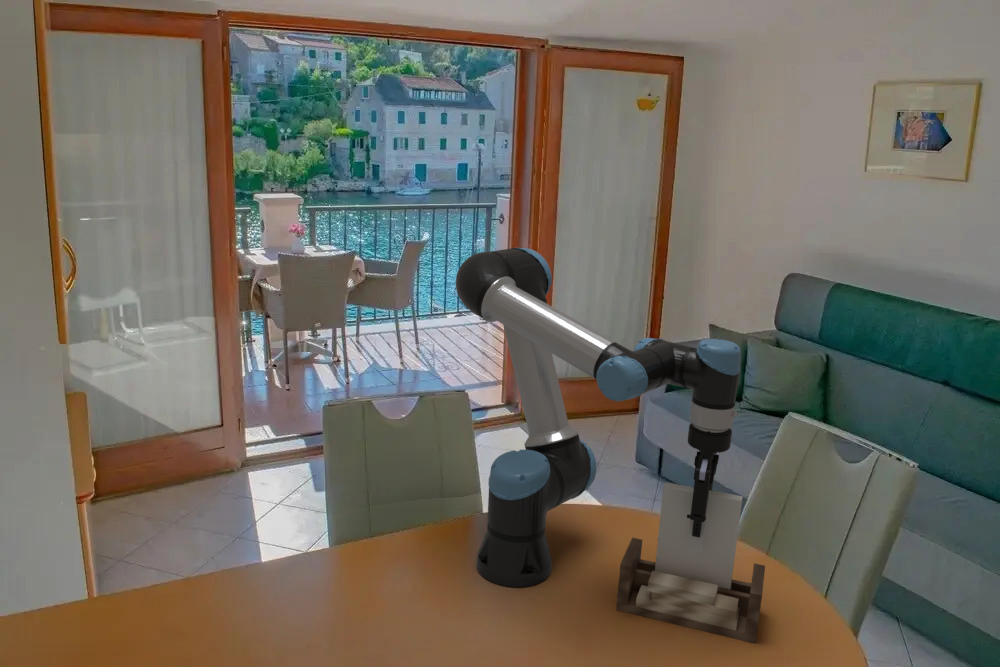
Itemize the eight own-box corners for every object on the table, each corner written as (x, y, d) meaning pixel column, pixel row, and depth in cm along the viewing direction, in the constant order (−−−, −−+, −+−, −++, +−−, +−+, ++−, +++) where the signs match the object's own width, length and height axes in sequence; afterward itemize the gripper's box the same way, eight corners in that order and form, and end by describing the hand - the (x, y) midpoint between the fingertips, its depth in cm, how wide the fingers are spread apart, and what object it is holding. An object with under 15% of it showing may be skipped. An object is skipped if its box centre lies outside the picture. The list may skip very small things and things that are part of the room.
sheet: (652, 590, 157) (663, 486, 151) (654, 585, 159) (665, 481, 153) (727, 607, 153) (741, 501, 146) (728, 602, 154) (742, 496, 148)
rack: (616, 609, 153) (620, 563, 151) (628, 580, 163) (632, 537, 161) (755, 643, 145) (762, 595, 142) (758, 610, 155) (765, 565, 153)
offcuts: (635, 606, 152) (638, 580, 150) (640, 593, 156) (643, 567, 155) (736, 630, 146) (739, 603, 144) (738, 616, 150) (741, 589, 149)
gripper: (727, 447, 137) (711, 571, 143) (736, 413, 155) (722, 524, 160) (682, 439, 140) (668, 561, 146) (696, 406, 157) (683, 516, 163)
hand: (697, 542), depth 153 cm, fingers open, 6 cm apart
